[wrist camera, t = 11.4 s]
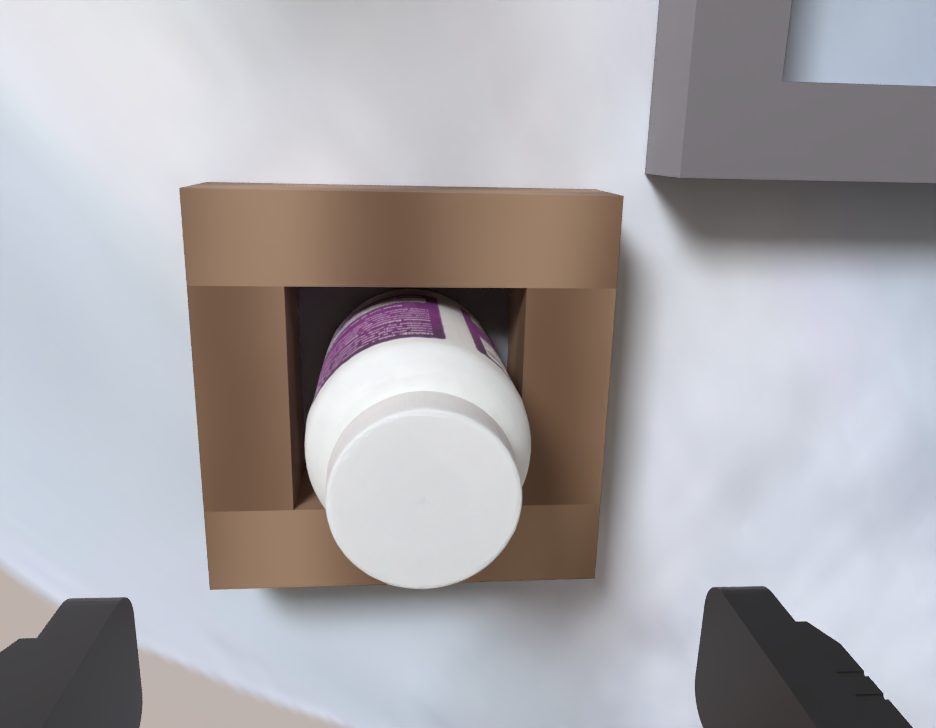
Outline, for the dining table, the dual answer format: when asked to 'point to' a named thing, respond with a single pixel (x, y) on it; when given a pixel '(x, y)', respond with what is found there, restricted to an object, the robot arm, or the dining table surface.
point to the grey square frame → (773, 106)
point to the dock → (392, 265)
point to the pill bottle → (417, 441)
